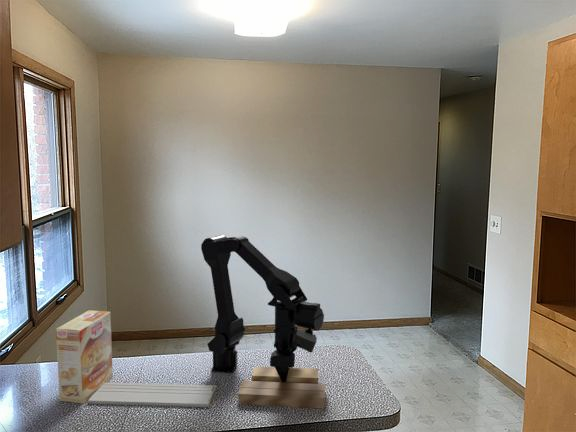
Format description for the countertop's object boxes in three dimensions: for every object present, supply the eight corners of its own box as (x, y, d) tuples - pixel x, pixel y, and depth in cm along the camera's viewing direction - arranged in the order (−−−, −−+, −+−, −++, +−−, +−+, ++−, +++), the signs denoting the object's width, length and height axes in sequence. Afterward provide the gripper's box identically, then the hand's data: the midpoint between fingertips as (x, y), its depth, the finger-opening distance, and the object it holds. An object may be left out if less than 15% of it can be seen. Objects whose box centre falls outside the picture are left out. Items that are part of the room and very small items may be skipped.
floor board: (238, 404, 119) (238, 393, 119) (244, 387, 128) (244, 377, 127) (324, 408, 117) (324, 397, 117) (324, 391, 126) (325, 381, 125)
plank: (251, 385, 127) (251, 375, 126) (254, 375, 132) (254, 366, 132) (318, 387, 126) (318, 378, 125) (318, 378, 131) (318, 368, 131)
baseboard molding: (108, 383, 131) (88, 406, 119) (107, 373, 131) (87, 395, 119) (218, 386, 130) (208, 409, 118) (217, 376, 129) (208, 398, 117)
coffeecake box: (83, 404, 119) (79, 330, 116) (58, 401, 120) (53, 328, 117) (114, 376, 133) (111, 310, 131) (91, 374, 135) (88, 309, 132)
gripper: (314, 337, 117) (313, 396, 119) (316, 312, 135) (315, 363, 137) (269, 335, 118) (269, 393, 120) (277, 310, 136) (277, 361, 138)
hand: (285, 377), depth 129 cm, fingers closed on plank, 5 cm apart
